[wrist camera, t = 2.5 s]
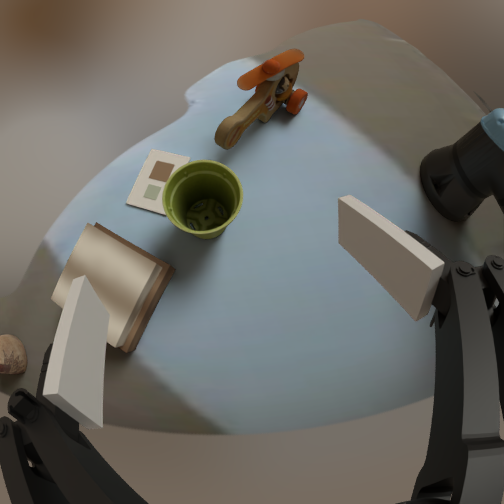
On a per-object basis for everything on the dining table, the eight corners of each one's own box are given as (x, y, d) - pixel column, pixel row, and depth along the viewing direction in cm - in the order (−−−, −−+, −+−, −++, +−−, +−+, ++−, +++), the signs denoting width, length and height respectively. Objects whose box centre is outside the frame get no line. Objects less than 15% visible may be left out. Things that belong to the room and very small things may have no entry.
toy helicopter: (307, 103, 46) (327, 49, 32) (242, 178, 41) (248, 122, 28) (270, 83, 46) (281, 28, 33) (200, 152, 42) (191, 94, 28)
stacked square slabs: (105, 229, 38) (87, 215, 32) (175, 269, 38) (164, 260, 31) (69, 303, 35) (45, 300, 29) (135, 349, 35) (117, 356, 29)
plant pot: (217, 178, 41) (215, 147, 33) (253, 227, 40) (258, 205, 31) (164, 210, 39) (148, 185, 31) (197, 263, 38) (188, 250, 30)
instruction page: (152, 149, 41) (151, 148, 41) (190, 158, 41) (190, 157, 41) (126, 203, 39) (125, 202, 39) (166, 215, 39) (165, 214, 39)
